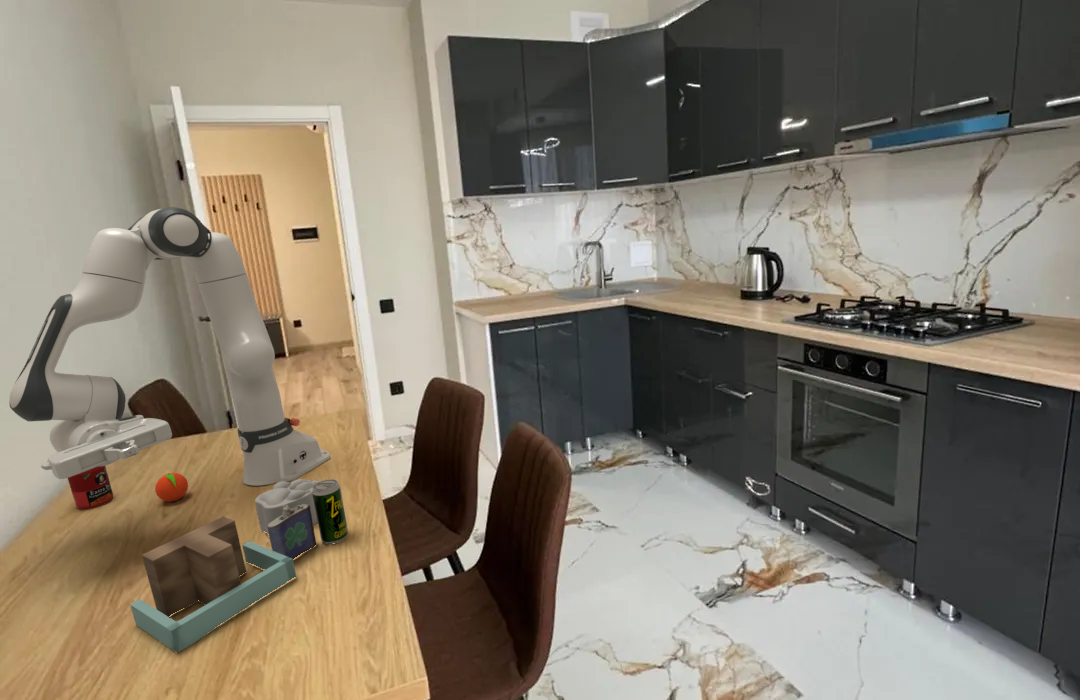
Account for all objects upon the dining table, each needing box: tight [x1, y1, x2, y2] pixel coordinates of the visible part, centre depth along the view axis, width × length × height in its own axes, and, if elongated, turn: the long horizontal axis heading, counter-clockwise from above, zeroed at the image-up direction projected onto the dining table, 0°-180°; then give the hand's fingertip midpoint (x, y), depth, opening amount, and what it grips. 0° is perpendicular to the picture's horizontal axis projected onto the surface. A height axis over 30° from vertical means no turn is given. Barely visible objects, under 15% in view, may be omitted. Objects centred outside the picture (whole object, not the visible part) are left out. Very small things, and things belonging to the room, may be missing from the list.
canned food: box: [67, 466, 114, 510], centre depth 146 cm, size 8×8×11 cm
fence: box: [129, 540, 297, 653], centre depth 102 cm, size 21×14×4 cm, turn 147°
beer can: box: [312, 478, 349, 545], centre depth 118 cm, size 5×5×12 cm
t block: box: [141, 515, 247, 617], centre depth 102 cm, size 14×12×11 cm
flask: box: [267, 504, 317, 559], centre depth 113 cm, size 9×3×11 cm, turn 151°
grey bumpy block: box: [254, 478, 319, 535], centre depth 127 cm, size 10×13×9 cm
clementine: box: [154, 472, 189, 503], centre depth 143 cm, size 8×7×7 cm
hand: (130, 452), depth 111 cm, fingers closed
